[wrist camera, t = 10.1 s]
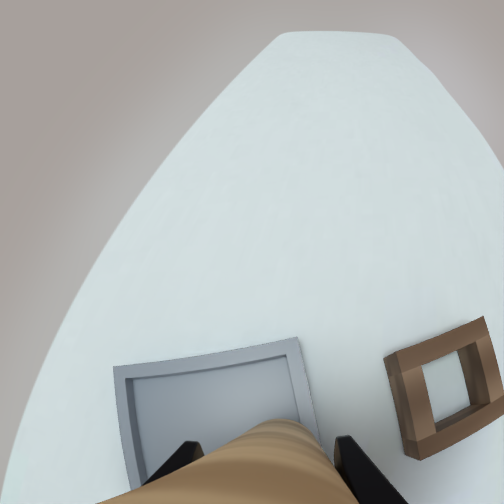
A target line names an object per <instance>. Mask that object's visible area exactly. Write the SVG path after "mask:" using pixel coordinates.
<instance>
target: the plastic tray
mask: <svg viewBox="0 0 504 504" xmlns="http://www.w3.org/2000/svg"><path fill="white" fill-rule="evenodd" d="M113 372H114V384H115V395H116V405H117V413H118V421H119V428H120V435H121V442H122V448H123V454H124V459H125V464H126V470H127V474H128V479H129V484H130V488H131V491H132V490H134V489H137V488H139V487H140V486H141V485H142V484H143V483H144V482H146V481H147V480H148V479H149V478H150V477H151V476H152V475H153V474H154V473H155V472H156V471H157V470H158V469H159V468H160V467H161V465H162V464H163V463H164V462H165V461H166V460H167V459H168V458H169V457H170V456H171V455H172V454H173V453H174V452H175V451H176V450H177V449H178V448H179V447H180V446H181V445H182V444H183V443H184V442H185V441H187V440H190V441H198V442H199V443H200V445H201V447H202V450H203V452H204V455H207V454H209V453H211V452H213V451H214V450H216V449H218V448H220V447H221V446H223V445H225V444H227V443H228V442H230V441H232V440H233V439H235V438H237V437H238V436H240V435H242V434H243V433H245V432H247V431H248V430H250V429H251V428H253V427H254V426H256V425H258V424H260V423H262V422H264V421H267V420H271V419H289V420H293V421H296V422H298V423H300V424H302V425H304V426H305V427H307V428H308V429H309V430H310V431H311V433H312V434H313V435H314V437H315V438H316V440H317V441H318V443H319V444H320V446H321V442H320V437H319V432H318V427H317V423H316V418H315V413H314V409H313V404H312V399H311V395H310V390H309V386H308V381H307V377H306V372H305V368H304V364H303V359H302V355H301V350H300V346H299V342H298V337H294V338H289V339H285V340H280V341H276V342H271V343H266V344H262V345H257V346H252V347H247V348H241V349H236V350H231V351H225V352H219V353H214V354H207V355H201V356H195V357H188V358H181V359H174V360H167V361H159V362H151V363H143V364H133V365H123V366H113ZM321 448H322V446H321Z"/></svg>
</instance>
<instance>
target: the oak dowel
mask: <svg viewBox="0 0 504 504" xmlns="http://www.w3.org/2000/svg"><path fill="white" fill-rule="evenodd" d="M97 504H359V503H358V501H357V500H356V498H355V497H354V495H353V494H352V493H351V491H350V490H349V488H348V487H347V485H346V484H345V482H344V481H343V479H342V478H341V476H340V475H339V473H338V472H337V470H336V469H335V467H334V466H333V464H332V463H331V461H330V460H329V458H328V457H327V455H326V454H325V452H324V451H323V449H322V448H321V446H320V444H319V443H318V441H317V440H316V438H315V437H314V435H313V434H312V433H311V431H310V430H309V429H308V428H307V427H305V426H304V425H302V424H300V423H298V422H296V421H293V420H289V419H271V420H267V421H264V422H262V423H260V424H258V425H256V426H254V427H253V428H251V429H250V430H248V431H247V432H245V433H243V434H242V435H240V436H238V437H237V438H235V439H233V440H232V441H230V442H228V443H227V444H225V445H223V446H221V447H220V448H218V449H216V450H214V451H213V452H211V453H209V454H207V455H205V456H203V457H202V458H200V459H198V460H196V461H194V462H192V463H190V464H188V465H186V466H184V467H182V468H180V469H178V470H176V471H174V472H172V473H170V474H168V475H166V476H164V477H162V478H159V479H157V480H155V481H153V482H151V483H148V484H146V485H144V486H141V487H139V488H137V489H134V490H132V491H129V492H127V493H124V494H122V495H119V496H116V497H114V498H111V499H108V500H106V501H103V502H100V503H97Z"/></svg>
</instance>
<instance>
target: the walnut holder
mask: <svg viewBox="0 0 504 504" xmlns="http://www.w3.org/2000/svg"><path fill="white" fill-rule="evenodd" d="M456 350H457V351H458V354H459V358H460V362H461V365H462V369H463V373H464V377H465V381H466V385H467V390H468V394H469V399H470V404H471V405H470V406H468V407H467V408H465V409H463V410H461V411H459V412H457V413H455V414H453V415H451V416H449V417H447V418H445V419H443V420H441V421H439V422H437V423H435V424H434V419H433V414H432V409H431V404H430V400H429V396H428V391H427V387H426V383H425V379H424V375H423V371H422V367H421V365H423V364H426V363H428V362H431V361H433V360H436V359H438V358H440V357H443V356H445V355H447V354H449V353H452V352H454V351H456ZM383 359H384V363H385V367H386V370H387V374H388V378H389V382H390V386H391V390H392V395H393V399H394V403H395V408H396V412H397V417H398V421H399V426H400V431H401V436H402V441H403V447H404V452H405V455H407V456H409V457H412V458H414V459H417V460H420V461H421V460H423V459H425V458H427V457H429V456H432V455H434V454H436V453H438V452H440V451H442V450H444V449H446V448H448V447H450V446H452V445H454V444H456V443H457V442H459V441H461V440H463V439H465V438H466V437H468V436H470V435H472V434H473V433H475V432H477V431H478V430H480V429H482V428H483V427H485V426H487V425H488V424H490V423H491V422H493V421H494V420H496V419H497V418H499V417H500V416H502V415H503V414H504V390H503V385H502V380H501V376H500V372H499V368H498V364H497V360H496V356H495V352H494V349H493V345H492V342H491V338H490V335H489V332H488V328H487V325H486V322H485V319H484V316H482V317H480V318H478V319H476V320H474V321H471V322H469V323H467V324H465V325H463V326H460V327H458V328H456V329H453V330H451V331H449V332H446V333H444V334H441V335H439V336H437V337H434V338H432V339H429V340H426V341H424V342H421V343H419V344H416V345H413V346H411V347H408V348H405V349H402V350H399V351H396V352H394V353H393V354H391V355H389V356H387V357H385V358H383Z"/></svg>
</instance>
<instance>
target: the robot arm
mask: <svg viewBox="0 0 504 504" xmlns="http://www.w3.org/2000/svg"><path fill="white" fill-rule="evenodd" d="M203 456H205V455H204V452H203V450H202V447H201V445H200V443H199V442H198V441H190V440H187V441H185V442H184V443H183V444H182V445H181V446H180V447H179V448H178V449H177V450H176V451H175V452H174V453H173V454H172V455H171V456H170V457H169V458H168V459H167V460H166V461H165V462H164V463H163V464H162V465H161V467H160V468H159V469H158V470H157V471H156V472H155V473H154V474H153V475H152V476H151V477H150V478H149V479H148V480H147V481H146V482H144V483H143V484H142V485H141V486H144V485H146V484H148V483H151V482H153V481H155V480H157V479H159V478H162V477H164V476H166V475H168V474H170V473H172V472H174V471H176V470H178V469H180V468H182V467H184V466H186V465H188V464H190V463H192V462H194V461H196V460H198V459H200V458H202V457H203ZM334 463H335V469H336V470H337V472H338V473H339V475H340V476H341V478H342V479H343V481H344V482H345V484H346V485H347V487H348V488H349V490H350V491H351V493H352V494H353V495H354V497H355V498H356V500H357V501H358V503H359V504H408V503H407V501H406V500H405V499H404V498H403V497H402V496H401V495H400V493H399V492H398V491H397V490H396V489H395V488H394V487H393V485H392V484H391V483H390V482H389V481H388V480H387V478H386V477H385V476H384V475H383V474H382V473H381V471H380V470H379V469H378V468H377V467H376V466H375V464H374V463H373V462H372V461H371V460H370V458H369V457H368V456H367V455H366V454H365V453H364V451H363V450H362V449H361V448H360V447H359V445H358V444H357V443H356V442H355V440H354V439H353V438H352V437H351V436H349V435H345V436H338V437H337V438H336V441H335V448H334ZM141 486H140V487H141Z"/></svg>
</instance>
